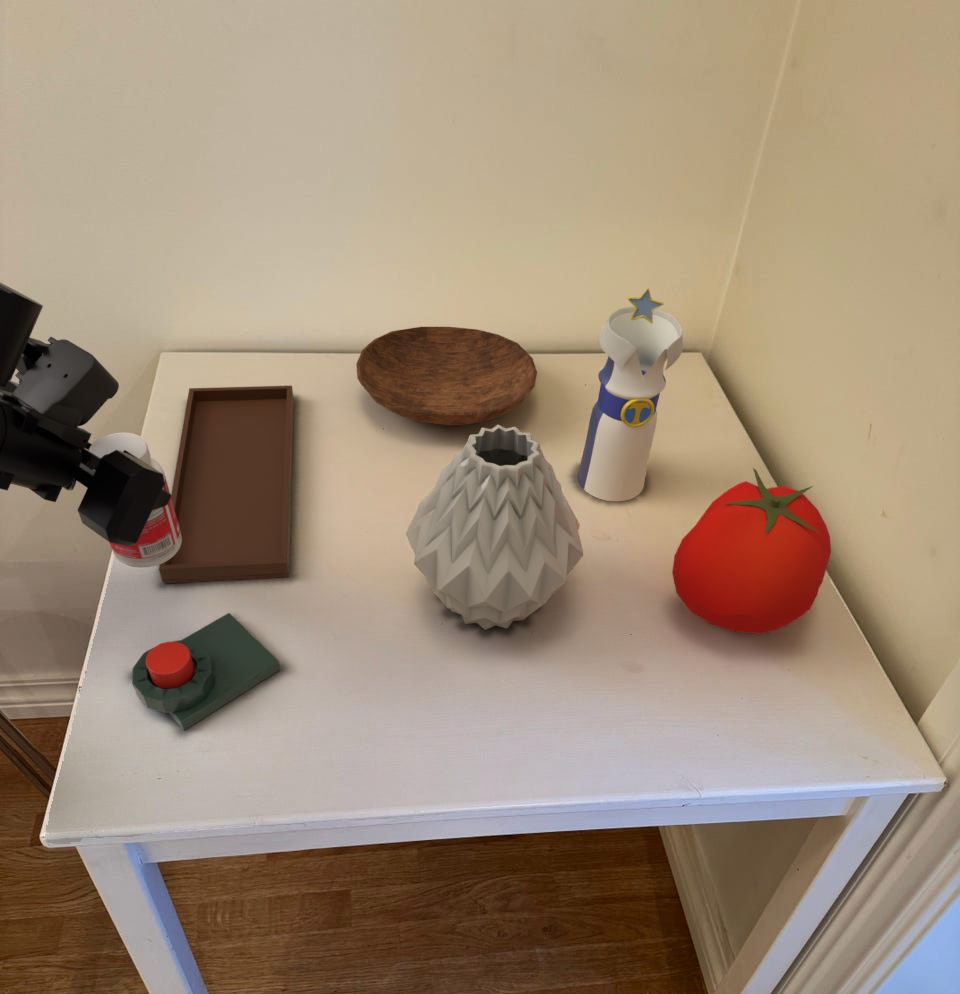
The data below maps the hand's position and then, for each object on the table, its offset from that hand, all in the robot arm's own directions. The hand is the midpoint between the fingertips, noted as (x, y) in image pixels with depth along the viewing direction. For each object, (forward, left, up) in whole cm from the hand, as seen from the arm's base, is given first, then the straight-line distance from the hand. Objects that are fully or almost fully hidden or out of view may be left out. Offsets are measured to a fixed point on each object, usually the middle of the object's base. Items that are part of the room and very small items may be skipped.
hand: (144, 483), depth 75 cm
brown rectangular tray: (+14, +10, -13) cm, 21 cm away
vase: (+22, -22, -13) cm, 34 cm away
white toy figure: (+46, -18, -13) cm, 51 cm away
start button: (-7, -12, -10) cm, 17 cm away
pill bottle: (-1, 0, -7) cm, 7 cm away
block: (-4, -12, -13) cm, 18 cm away
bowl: (+42, +6, -13) cm, 44 cm away
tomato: (+39, -39, -13) cm, 57 cm away
